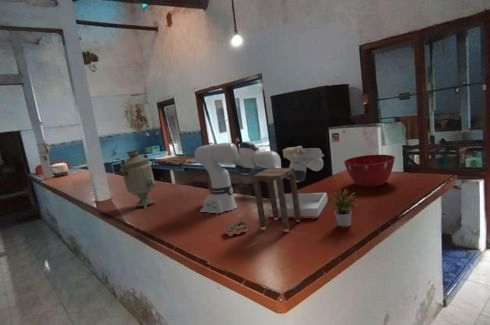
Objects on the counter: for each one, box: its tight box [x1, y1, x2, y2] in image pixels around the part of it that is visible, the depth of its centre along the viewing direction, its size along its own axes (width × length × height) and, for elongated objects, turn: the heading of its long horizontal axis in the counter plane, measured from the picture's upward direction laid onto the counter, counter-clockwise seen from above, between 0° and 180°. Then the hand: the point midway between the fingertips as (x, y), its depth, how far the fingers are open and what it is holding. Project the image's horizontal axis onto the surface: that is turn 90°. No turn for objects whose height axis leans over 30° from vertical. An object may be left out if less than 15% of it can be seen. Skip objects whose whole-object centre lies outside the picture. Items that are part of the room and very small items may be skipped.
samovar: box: [114, 149, 158, 210], centre depth 213 cm, size 30×26×40 cm
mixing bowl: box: [343, 154, 396, 188], centre depth 184 cm, size 28×28×16 cm
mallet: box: [282, 145, 303, 159], centre depth 156 cm, size 14×6×4 cm, turn 145°
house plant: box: [324, 188, 358, 227], centre depth 131 cm, size 14×14×16 cm
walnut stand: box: [252, 167, 302, 230], centre depth 141 cm, size 14×14×26 cm
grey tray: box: [268, 192, 329, 218], centre depth 160 cm, size 25×24×5 cm
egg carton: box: [223, 220, 249, 232], centre depth 144 cm, size 11×8×4 cm
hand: (296, 149), depth 158 cm, fingers closed on mallet, 2 cm apart
